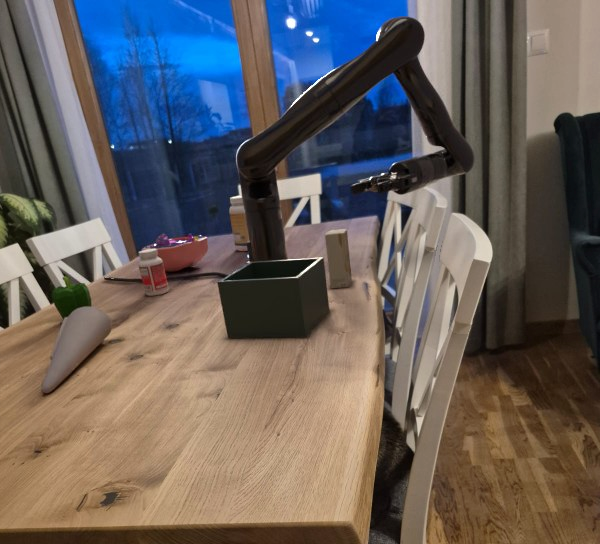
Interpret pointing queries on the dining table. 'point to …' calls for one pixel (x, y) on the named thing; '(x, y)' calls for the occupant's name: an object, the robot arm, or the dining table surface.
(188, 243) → the cell model
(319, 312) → the trash bin
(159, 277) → the pill bottle
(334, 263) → the cosmetic box
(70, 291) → the bell pepper
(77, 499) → the dining table surface
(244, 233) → the supplement tub
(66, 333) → the grey cone
